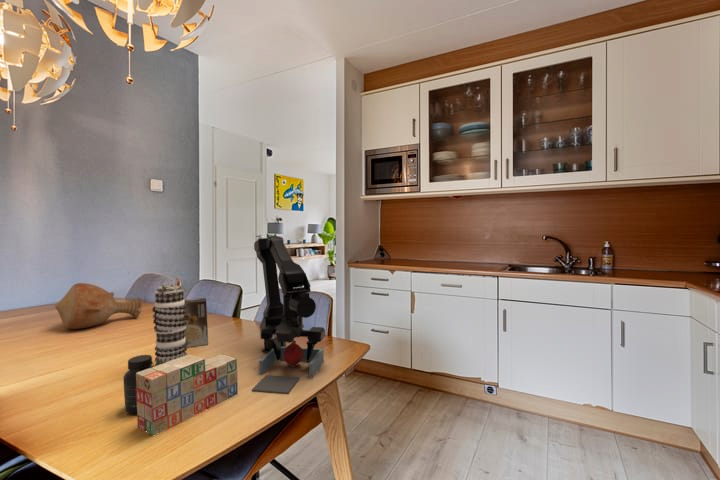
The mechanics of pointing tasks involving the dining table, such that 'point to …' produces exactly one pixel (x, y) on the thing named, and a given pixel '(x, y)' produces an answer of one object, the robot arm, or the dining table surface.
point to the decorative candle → (169, 323)
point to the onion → (293, 354)
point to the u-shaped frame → (314, 364)
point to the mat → (276, 384)
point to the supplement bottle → (134, 380)
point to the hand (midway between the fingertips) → (293, 360)
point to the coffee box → (196, 322)
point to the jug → (92, 306)
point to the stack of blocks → (182, 389)
